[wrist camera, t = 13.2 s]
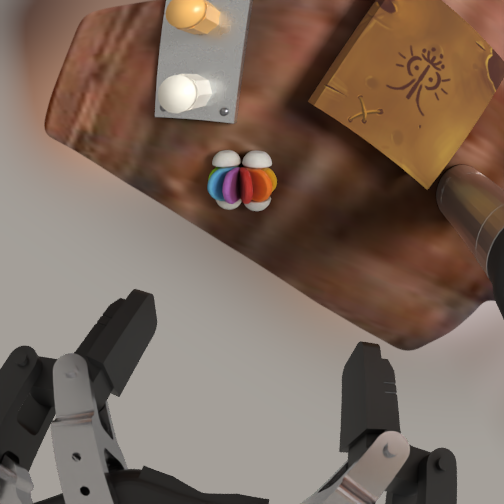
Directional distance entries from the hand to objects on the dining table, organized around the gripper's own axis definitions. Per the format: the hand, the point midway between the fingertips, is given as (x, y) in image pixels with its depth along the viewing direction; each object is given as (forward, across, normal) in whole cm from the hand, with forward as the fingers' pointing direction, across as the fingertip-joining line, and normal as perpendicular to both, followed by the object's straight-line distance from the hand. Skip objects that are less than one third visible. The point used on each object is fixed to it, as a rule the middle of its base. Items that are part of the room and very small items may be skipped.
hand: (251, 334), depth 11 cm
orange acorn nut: (+32, +15, -17) cm, 39 cm away
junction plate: (+33, +15, -13) cm, 39 cm away
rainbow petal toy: (+34, +7, +6) cm, 35 cm away
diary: (+34, -13, -14) cm, 39 cm away
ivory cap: (+32, +15, -6) cm, 35 cm away
